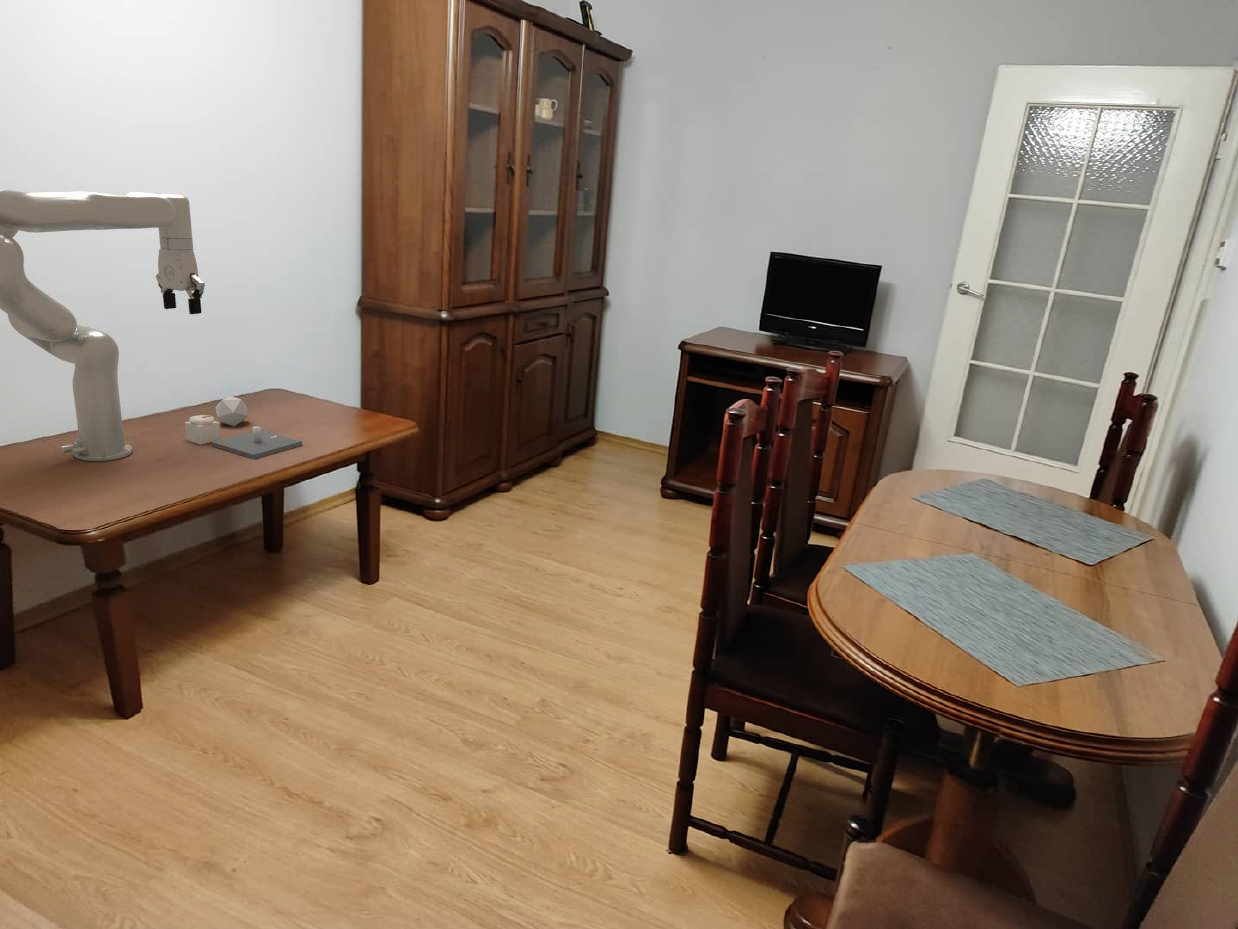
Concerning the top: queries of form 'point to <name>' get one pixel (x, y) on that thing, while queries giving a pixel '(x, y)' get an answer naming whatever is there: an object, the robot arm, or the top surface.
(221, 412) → the die
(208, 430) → the white stepped block
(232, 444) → the grey square peg base
